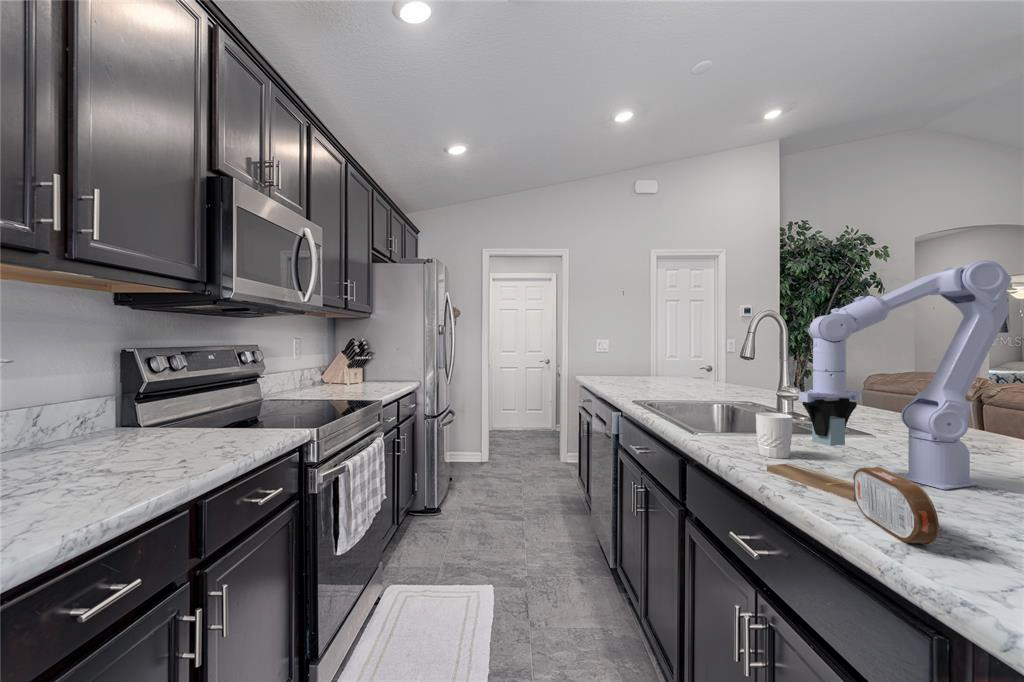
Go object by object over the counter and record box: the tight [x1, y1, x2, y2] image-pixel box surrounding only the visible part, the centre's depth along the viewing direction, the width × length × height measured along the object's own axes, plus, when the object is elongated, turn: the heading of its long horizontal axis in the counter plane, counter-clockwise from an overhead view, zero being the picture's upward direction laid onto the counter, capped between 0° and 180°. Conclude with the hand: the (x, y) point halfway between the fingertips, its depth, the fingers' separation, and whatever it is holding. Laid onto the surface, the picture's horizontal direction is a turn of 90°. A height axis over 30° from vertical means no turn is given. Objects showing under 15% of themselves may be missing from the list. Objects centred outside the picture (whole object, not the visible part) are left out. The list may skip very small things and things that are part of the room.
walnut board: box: [766, 463, 856, 502], centre depth 85 cm, size 6×18×1 cm, turn 16°
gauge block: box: [811, 416, 846, 447], centre depth 91 cm, size 4×4×6 cm
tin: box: [852, 466, 940, 545], centre depth 64 cm, size 15×3×8 cm, turn 168°
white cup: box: [755, 412, 794, 459], centre depth 106 cm, size 8×8×10 cm
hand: (829, 434), depth 91 cm, fingers closed on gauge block, 4 cm apart
